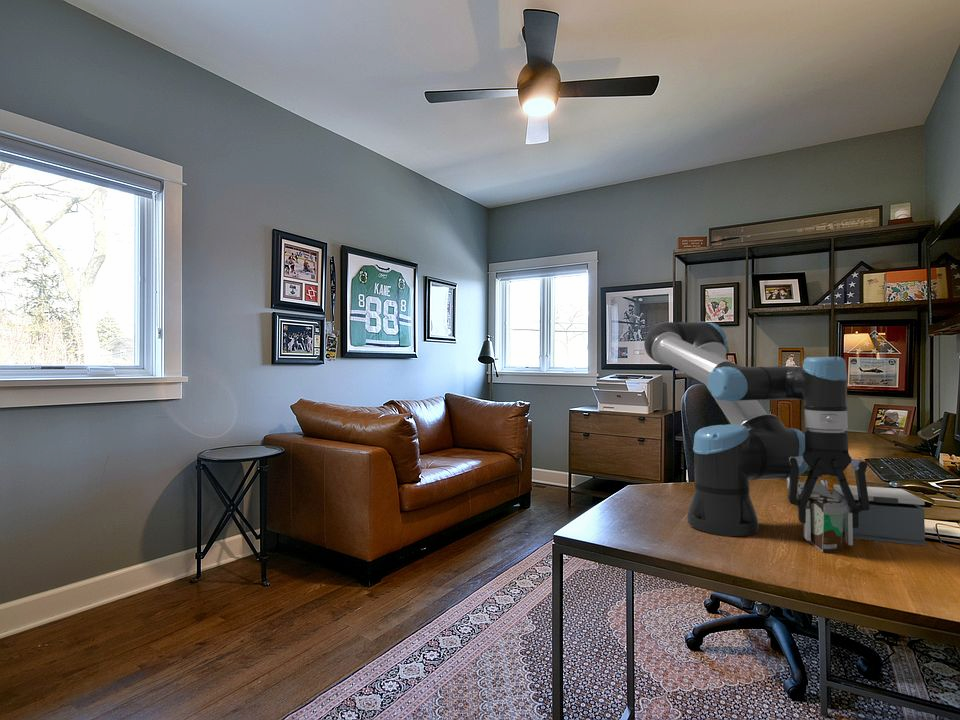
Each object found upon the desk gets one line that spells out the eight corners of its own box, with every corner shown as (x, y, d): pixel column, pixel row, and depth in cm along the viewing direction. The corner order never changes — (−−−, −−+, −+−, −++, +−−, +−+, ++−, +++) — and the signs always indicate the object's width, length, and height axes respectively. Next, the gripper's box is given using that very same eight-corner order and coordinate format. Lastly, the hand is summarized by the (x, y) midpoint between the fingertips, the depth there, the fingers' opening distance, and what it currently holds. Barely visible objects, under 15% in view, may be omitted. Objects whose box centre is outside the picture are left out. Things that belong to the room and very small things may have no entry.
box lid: (848, 499, 111) (848, 495, 111) (833, 488, 124) (833, 484, 124) (926, 505, 105) (926, 500, 106) (901, 493, 119) (901, 488, 119)
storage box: (849, 537, 111) (848, 503, 112) (834, 519, 124) (834, 488, 124) (925, 545, 106) (924, 509, 106) (901, 526, 119) (901, 493, 119)
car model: (827, 491, 154) (827, 474, 154) (843, 512, 132) (842, 492, 132) (784, 487, 159) (784, 471, 159) (792, 507, 137) (792, 488, 137)
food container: (861, 557, 100) (860, 505, 101) (826, 555, 102) (825, 504, 102) (831, 536, 113) (830, 490, 113) (800, 535, 114) (799, 489, 114)
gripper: (774, 430, 108) (776, 540, 108) (889, 434, 100) (891, 553, 100) (770, 426, 115) (772, 529, 115) (877, 430, 107) (880, 541, 107)
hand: (828, 540), depth 107 cm, fingers closed on food container, 7 cm apart
